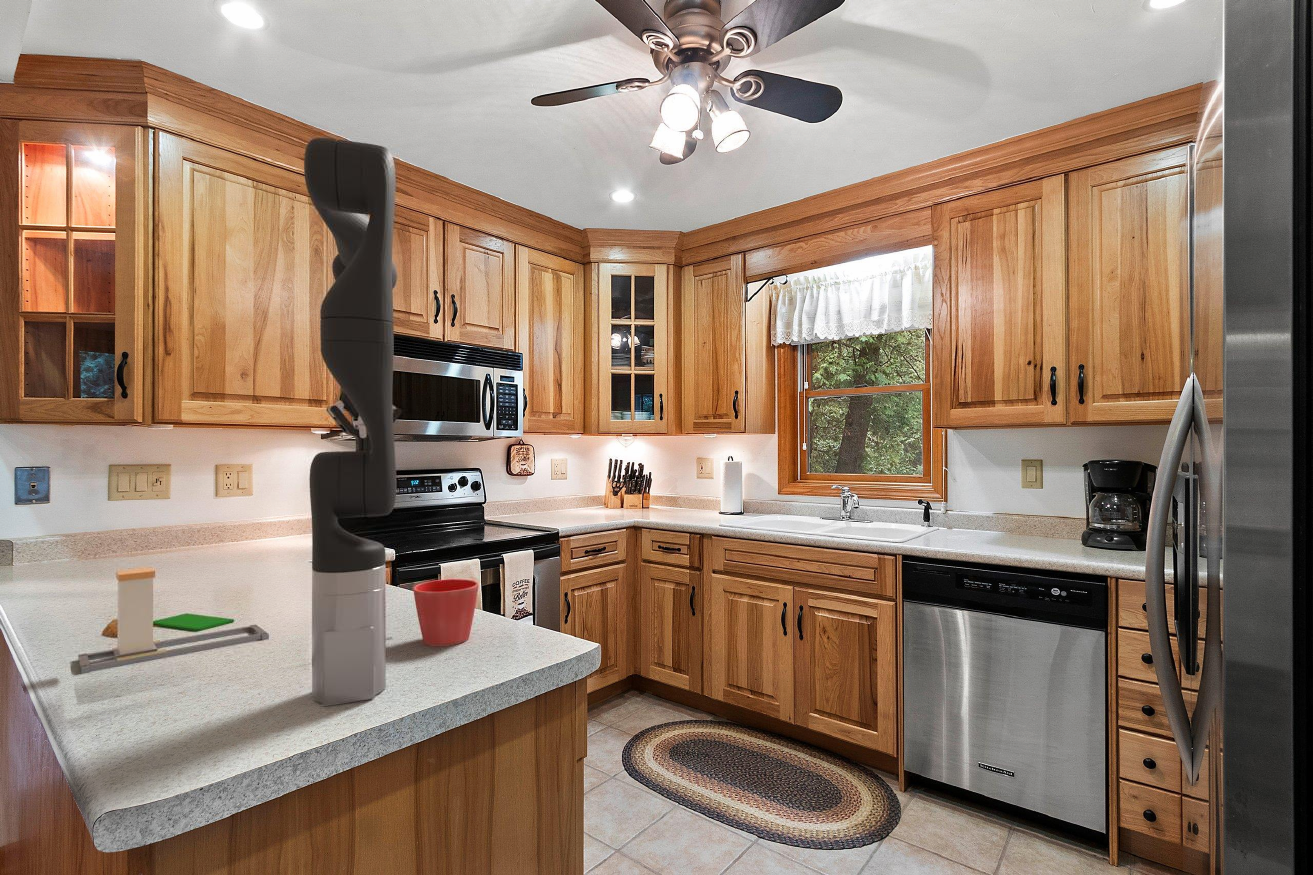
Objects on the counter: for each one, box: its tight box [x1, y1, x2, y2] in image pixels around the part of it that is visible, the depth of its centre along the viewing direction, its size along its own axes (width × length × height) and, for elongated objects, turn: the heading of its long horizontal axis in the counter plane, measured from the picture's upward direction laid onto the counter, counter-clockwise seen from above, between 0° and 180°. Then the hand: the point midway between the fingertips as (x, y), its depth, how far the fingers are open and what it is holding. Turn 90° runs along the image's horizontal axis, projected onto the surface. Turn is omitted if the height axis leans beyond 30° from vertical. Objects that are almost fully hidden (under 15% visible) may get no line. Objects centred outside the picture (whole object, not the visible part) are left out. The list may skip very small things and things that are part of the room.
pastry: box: [101, 618, 118, 639], centre depth 116 cm, size 9×7×4 cm
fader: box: [112, 567, 158, 660], centre depth 102 cm, size 5×5×13 cm
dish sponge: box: [153, 613, 235, 632], centre depth 121 cm, size 7×14×2 cm, turn 68°
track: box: [77, 624, 270, 675], centre depth 105 cm, size 24×9×2 cm, turn 134°
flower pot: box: [412, 578, 479, 647], centre depth 114 cm, size 11×11×10 cm
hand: (365, 459), depth 116 cm, fingers closed
